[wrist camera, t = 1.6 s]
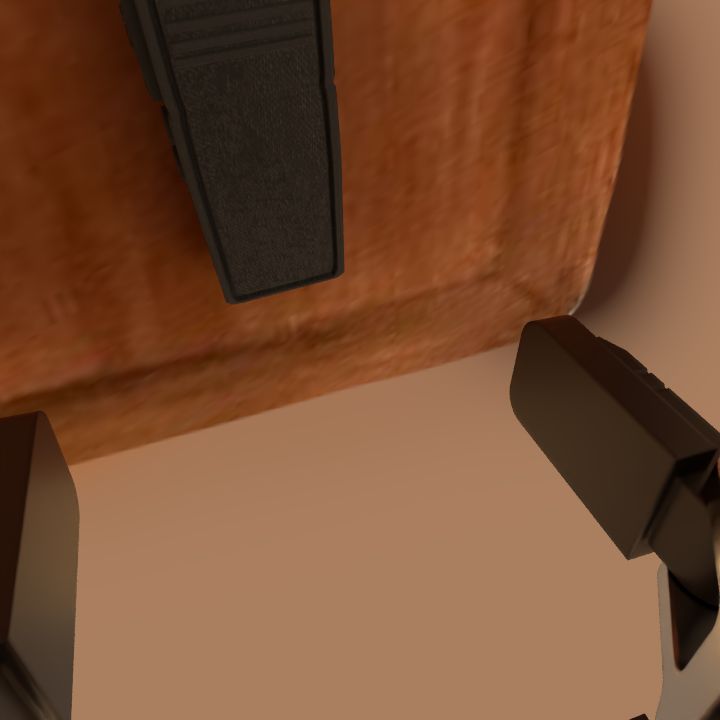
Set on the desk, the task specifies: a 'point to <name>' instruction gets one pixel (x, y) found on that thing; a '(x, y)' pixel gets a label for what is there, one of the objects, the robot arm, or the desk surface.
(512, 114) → the desk surface
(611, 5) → the desk surface
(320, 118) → the walkie-talkie
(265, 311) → the desk surface
